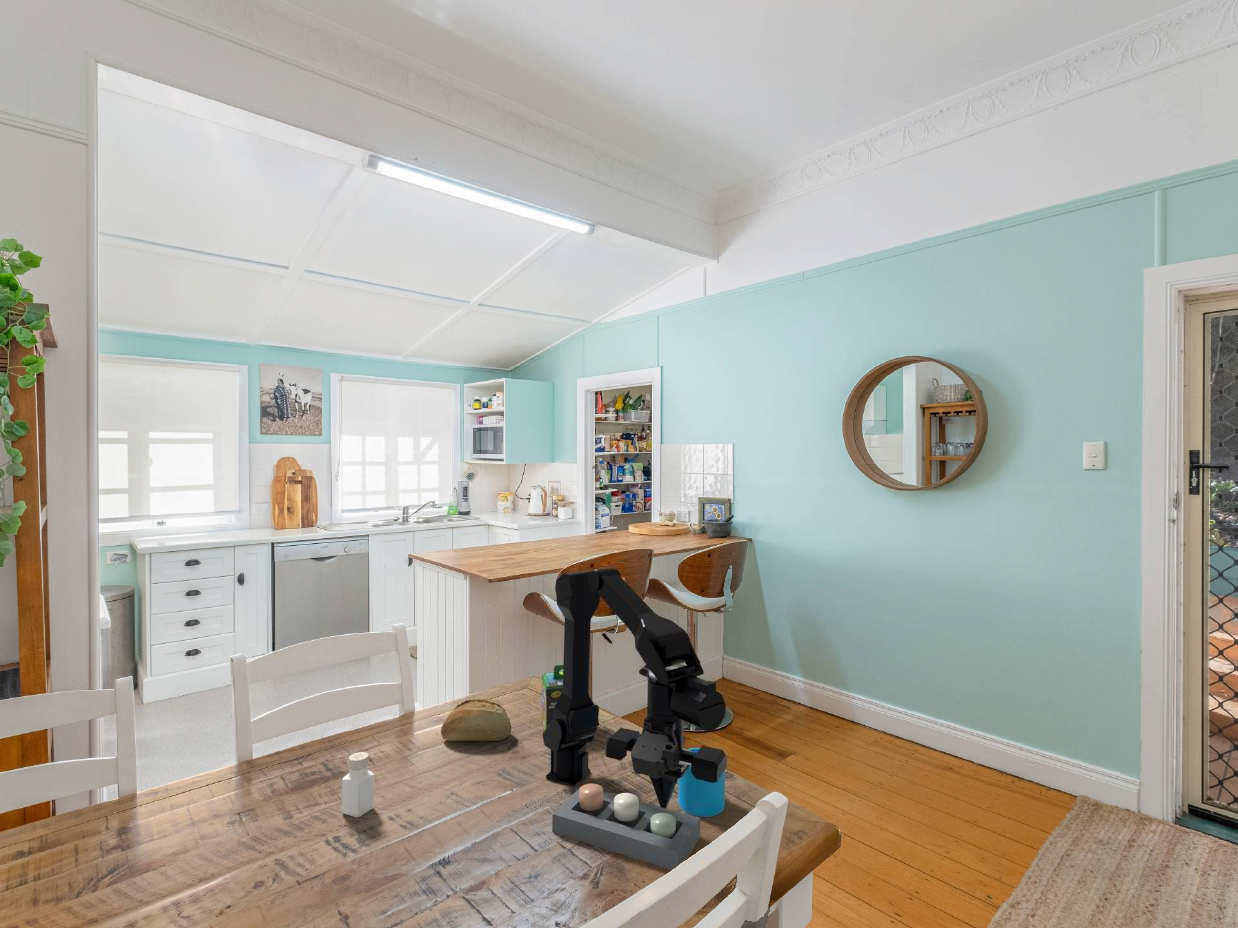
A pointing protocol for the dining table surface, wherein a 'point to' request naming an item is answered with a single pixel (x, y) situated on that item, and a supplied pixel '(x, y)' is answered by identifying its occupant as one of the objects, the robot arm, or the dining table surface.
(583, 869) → the dining table surface
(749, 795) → the dining table surface
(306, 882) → the dining table surface
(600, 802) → the terracotta button
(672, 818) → the sage button
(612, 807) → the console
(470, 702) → the bread roll
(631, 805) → the cream button
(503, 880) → the dining table surface
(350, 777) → the pepper shaker
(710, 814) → the mug
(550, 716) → the chalk box
